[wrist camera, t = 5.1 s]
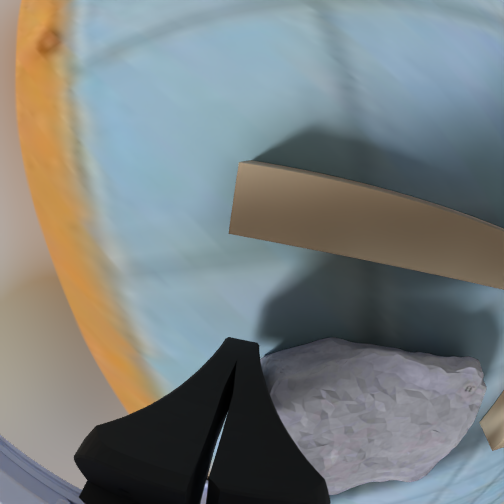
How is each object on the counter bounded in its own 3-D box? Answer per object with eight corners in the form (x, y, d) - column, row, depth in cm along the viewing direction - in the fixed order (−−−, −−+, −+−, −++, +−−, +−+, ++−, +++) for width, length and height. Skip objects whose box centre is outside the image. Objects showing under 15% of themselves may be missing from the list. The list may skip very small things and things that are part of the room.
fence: (494, 419, 13) (510, 452, 9) (214, 412, 14) (198, 465, 11) (578, 264, 9) (612, 287, 5) (250, 160, 10) (230, 163, 6)
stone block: (251, 317, 14) (254, 456, 15) (239, 365, 9) (246, 512, 11) (462, 307, 13) (424, 439, 14) (514, 338, 8) (448, 484, 9)
